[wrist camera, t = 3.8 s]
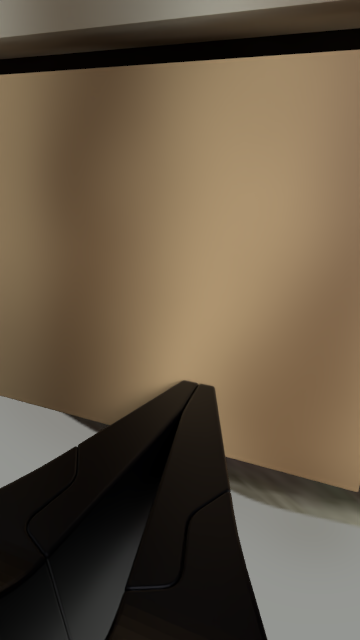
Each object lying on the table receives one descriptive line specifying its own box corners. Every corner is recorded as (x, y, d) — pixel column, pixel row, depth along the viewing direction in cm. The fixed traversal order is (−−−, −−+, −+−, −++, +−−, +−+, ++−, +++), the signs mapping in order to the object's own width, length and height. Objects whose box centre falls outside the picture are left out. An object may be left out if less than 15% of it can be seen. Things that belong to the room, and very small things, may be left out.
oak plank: (423, 94, 8) (468, 41, 6) (344, 445, 10) (357, 492, 8) (-44, 110, 11) (-109, 82, 10) (-31, 356, 13) (-82, 373, 12)
